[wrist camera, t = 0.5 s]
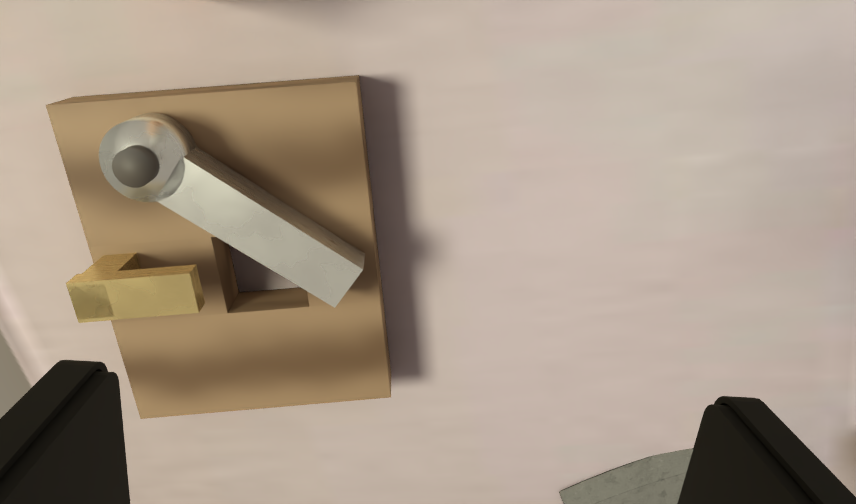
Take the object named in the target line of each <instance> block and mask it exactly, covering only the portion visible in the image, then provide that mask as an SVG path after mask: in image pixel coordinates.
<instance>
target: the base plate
mask: <svg viewBox="0 0 856 504" xmlns="http://www.w3.org/2000/svg"><path fill="white" fill-rule="evenodd" d="M46 108H47V111H48V114H49V117H50V121H51V124H52V127H53V131H54V134H55V137H56V141H57V144H58V147H59V150H60V154H61V157H62V160H63V164H64V167H65V170H66V174H67V177H68V180H69V183H70V187H71V190H72V193H73V197H74V200H75V203H76V207H77V210H78V213H79V216H80V220H81V223H82V226H83V230H84V233H85V236H86V240H87V243H88V246H89V249H90V253H91V256H92V259H93V263H95V262H96V261H97V260H98V259H100V258H101V257H102V256H103V255H114V254H126V253H137V256H138V260H139V264H140V267H141V269H147V268H160V267H172V266H184V265H196V266H197V270H198V274H199V279H200V283H201V287H202V291H203V296H204V300H205V304H204V306H203V307H202V309H201V310H200V312H199V313H191V314H179V315H166V316H154V317H142V318H130V319H118V320H111V322H112V325H113V329H114V332H115V335H116V339H117V342H118V345H119V348H120V352H121V355H122V358H123V362H124V365H125V368H126V372H127V375H128V378H129V381H130V385H131V388H132V391H133V395H134V398H135V401H136V405H137V408H138V411H139V414H140V418H141V419H144V418H155V417H167V416H179V415H190V414H202V413H214V412H225V411H237V410H249V409H260V408H272V407H283V406H295V405H307V404H318V403H330V402H342V401H353V400H365V399H377V398H388V397H391V367H390V358H389V349H388V340H387V330H386V321H385V312H384V303H383V293H382V284H381V275H380V266H379V256H378V247H377V238H376V229H375V219H374V210H373V201H372V192H371V182H370V173H369V164H368V155H367V145H366V136H365V127H364V117H363V108H362V99H361V90H360V80H359V75H358V76H344V77H331V78H318V79H305V80H292V81H279V82H266V83H253V84H240V85H227V86H213V87H200V88H187V89H174V90H161V91H148V92H135V93H122V94H109V95H96V96H82V97H72V98H68V99H65V100H62V101H58V102H55V103H52V104H48V105H46ZM145 113H160V114H164V115H167V116H170V117H172V118H174V119H175V120H177V121H179V122H180V123H181V124H182V125H183V126H185V127H186V128H187V130H188V131H189V132H190V134H191V135H192V137H193V138H194V140H195V143H196V145H197V147H198V148H199V149H201V150H202V151H204V152H206V153H207V154H209V155H210V156H212V157H213V158H215V159H217V160H218V161H220V162H221V163H223V164H224V165H226V166H228V167H229V168H231V169H232V170H234V171H235V172H237V173H239V174H240V175H242V176H243V177H245V178H246V179H248V180H250V181H251V182H253V183H254V184H256V185H258V186H259V187H261V188H262V189H264V190H265V191H267V192H269V193H270V194H272V195H273V196H275V197H276V198H278V199H280V200H281V201H283V202H284V203H286V204H287V205H289V206H291V207H292V208H294V209H295V210H297V211H298V212H300V213H302V214H303V215H305V216H306V217H308V218H310V219H311V220H313V221H314V222H316V223H317V224H319V225H321V226H322V227H324V228H325V229H327V230H328V231H330V232H332V233H333V234H335V235H336V236H338V237H339V238H341V239H343V240H344V241H346V242H347V243H349V244H351V245H352V246H354V247H355V248H357V249H358V250H360V251H362V252H363V253H365V259H364V267H363V271H362V272H361V273H360V275H359V276H358V277H357V279H356V280H355V281H354V283H353V284H352V285H351V287H350V288H349V289H348V291H347V292H346V294H345V295H344V296H343V298H342V299H341V300H340V302H339V303H338V304H337V306H336V307H335V308H334V307H333V306H331V305H329V304H328V303H326V302H324V301H323V300H321V299H319V298H318V297H316V296H314V295H313V294H311V293H309V292H308V291H306V290H304V289H303V288H289V289H277V290H265V291H253V292H241V293H239V291H238V287H237V282H236V277H235V272H234V267H233V263H232V258H231V253H230V248H229V244H227V243H226V242H224V241H222V240H221V239H219V238H217V237H216V236H214V235H212V234H211V233H209V232H207V231H206V230H204V229H202V228H201V227H199V226H197V225H195V224H194V223H192V222H190V221H189V220H187V219H185V218H184V217H182V216H180V215H179V214H177V213H175V212H174V211H172V210H170V209H169V208H167V207H165V206H164V205H162V204H160V203H159V202H140V201H136V200H133V199H130V198H128V197H126V196H124V195H122V194H121V193H119V192H118V191H117V190H116V189H114V188H113V187H112V185H111V184H110V183H109V182H108V181H107V179H106V178H105V176H104V174H103V172H102V170H101V166H100V162H99V148H100V144H101V141H102V139H103V137H104V136H105V134H106V133H107V132H108V131H109V130H110V129H111V128H113V127H114V126H116V125H118V124H120V123H122V122H124V121H127V120H129V119H131V118H133V117H135V116H138V115H140V114H145ZM159 168H160V165H159V161H158V158H157V156H156V155H155V154H154V153H153V152H152V151H151V150H150V149H148V148H147V147H144V146H141V145H132V146H129V147H127V148H126V149H124V150H122V151H120V152H119V153H117V154H116V155H115V157H114V158H113V161H112V170H113V173H114V175H115V177H116V178H117V179H118V180H119V181H120V182H121V183H122V184H124V185H126V186H128V187H132V188H139V187H142V186H145V185H146V184H148V183H149V182H150V181H152V180H153V179H154V178H155V177H156V176H157V175H158V173H159Z"/></svg>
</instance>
